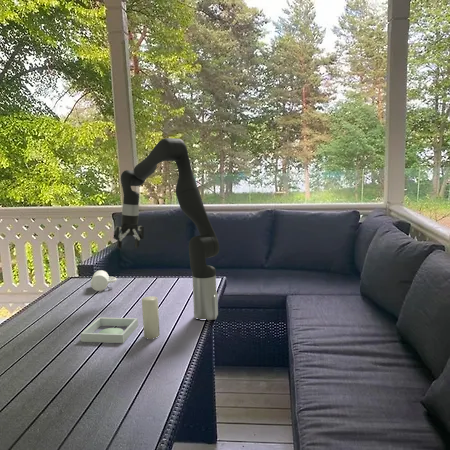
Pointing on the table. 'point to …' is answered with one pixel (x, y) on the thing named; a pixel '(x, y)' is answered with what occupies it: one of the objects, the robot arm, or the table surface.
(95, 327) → the square picture frame
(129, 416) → the table surface
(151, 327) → the canister
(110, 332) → the pad
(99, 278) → the mug
